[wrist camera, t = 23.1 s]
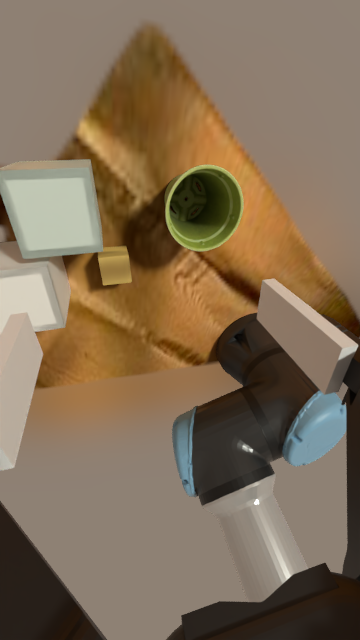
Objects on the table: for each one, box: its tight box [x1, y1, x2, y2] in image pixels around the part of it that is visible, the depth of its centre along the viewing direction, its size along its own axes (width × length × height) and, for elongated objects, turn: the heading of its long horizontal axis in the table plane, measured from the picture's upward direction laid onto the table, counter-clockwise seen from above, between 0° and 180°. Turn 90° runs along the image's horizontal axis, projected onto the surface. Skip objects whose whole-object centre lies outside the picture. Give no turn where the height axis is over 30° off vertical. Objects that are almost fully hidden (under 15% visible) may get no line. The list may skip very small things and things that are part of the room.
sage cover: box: [0, 159, 103, 259], centre depth 31 cm, size 8×8×10 cm
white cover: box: [0, 241, 71, 335], centre depth 35 cm, size 8×8×10 cm
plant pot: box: [164, 165, 243, 251], centre depth 35 cm, size 9×9×9 cm
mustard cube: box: [98, 246, 132, 285], centre depth 39 cm, size 4×4×4 cm
